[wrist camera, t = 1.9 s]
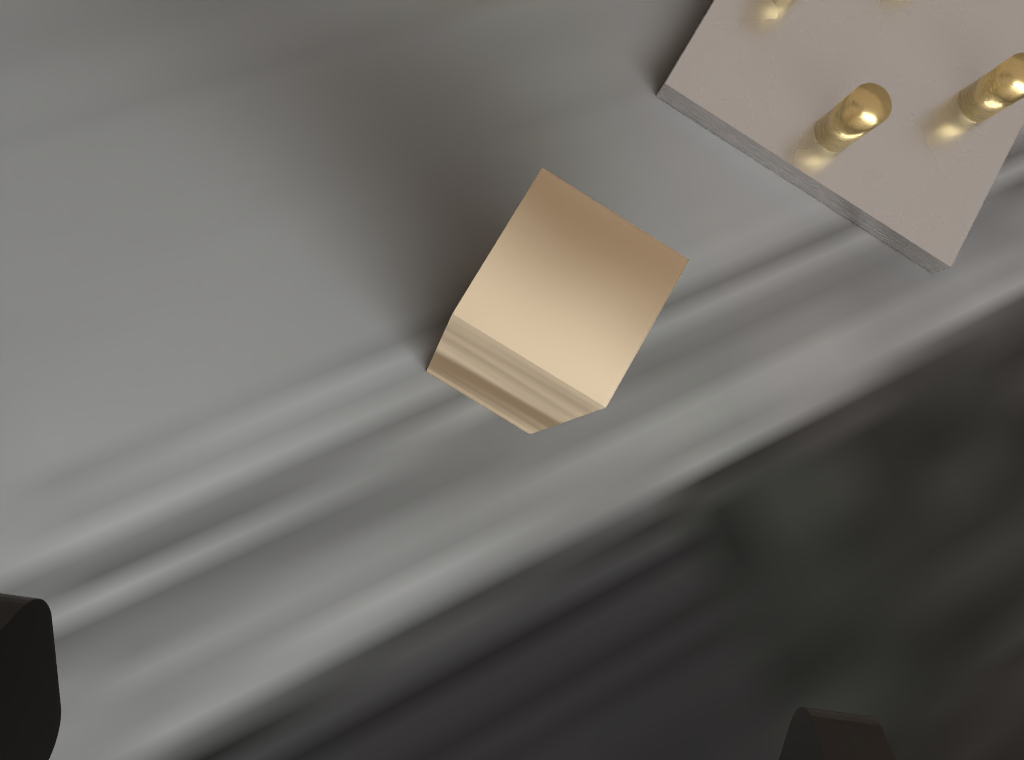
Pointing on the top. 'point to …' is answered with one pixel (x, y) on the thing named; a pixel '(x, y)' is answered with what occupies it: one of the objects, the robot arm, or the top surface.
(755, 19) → the plate
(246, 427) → the top surface
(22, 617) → the robot arm
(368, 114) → the top surface
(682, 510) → the top surface
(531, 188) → the block
